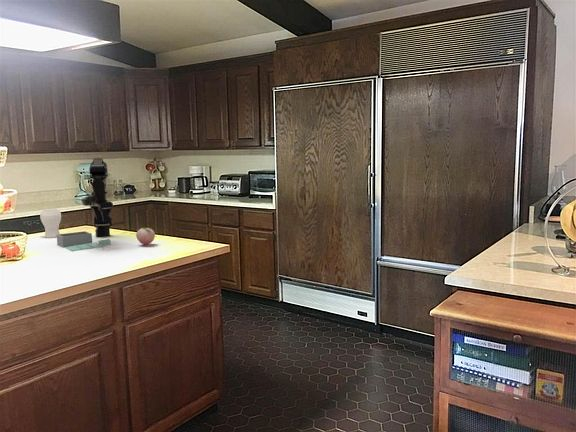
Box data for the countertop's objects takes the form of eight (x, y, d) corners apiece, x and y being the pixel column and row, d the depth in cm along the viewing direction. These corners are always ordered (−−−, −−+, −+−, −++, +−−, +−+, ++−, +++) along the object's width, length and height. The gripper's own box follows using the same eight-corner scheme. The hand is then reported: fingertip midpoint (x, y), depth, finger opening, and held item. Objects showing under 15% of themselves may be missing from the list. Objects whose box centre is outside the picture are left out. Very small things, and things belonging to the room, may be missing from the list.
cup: (47, 238, 263) (45, 211, 261) (38, 237, 269) (36, 210, 267) (66, 236, 271) (64, 209, 269) (56, 234, 278) (54, 208, 276)
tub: (85, 242, 251) (85, 231, 250) (92, 245, 244) (91, 233, 243) (57, 246, 242) (56, 234, 241) (63, 249, 235) (62, 237, 234)
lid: (106, 243, 247) (105, 238, 246) (113, 246, 239) (113, 240, 238) (65, 250, 234) (64, 244, 233) (72, 253, 226) (71, 247, 225)
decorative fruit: (159, 244, 242) (158, 225, 241) (146, 247, 236) (145, 227, 234) (146, 243, 248) (145, 224, 246) (133, 245, 241) (132, 226, 239)
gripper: (76, 189, 239) (78, 220, 241) (88, 192, 225) (91, 224, 227) (98, 188, 246) (100, 218, 248) (112, 190, 232) (114, 222, 234)
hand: (101, 220), depth 239 cm, fingers open, 9 cm apart
